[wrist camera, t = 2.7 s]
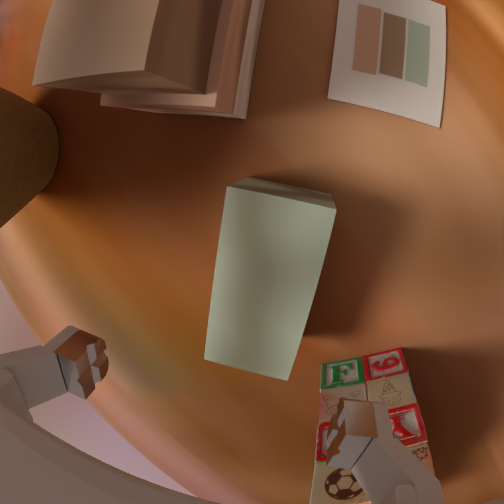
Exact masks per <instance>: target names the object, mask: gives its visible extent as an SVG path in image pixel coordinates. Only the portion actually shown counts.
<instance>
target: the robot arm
mask: <svg viewBox="0 0 504 504" xmlns="http://www.w3.org/2000/svg"><path fill="white" fill-rule="evenodd" d="M105 349H106V344H105V341H104V340H103V339H102V338H99V337H97V336H95V335H92V334H90V333H88V332H85V331H83V330H80V329H78V328H76V327H73V326H67V327H66V328H65V329H64V330H62V331H61V332H60V333H59V334H58V335H56V336H55V337H54V338H53V339H52V340H50V341H49V342H48V343H47V344H46V345H44V346H41V345H39V346H35V347H31V348H27V349H22V350H18V351H13V352H9V353H5V354H0V504H219V503H215V502H211V501H208V500H204V499H200V498H197V497H193V496H190V495H187V494H183V493H180V492H177V491H174V490H171V489H168V488H165V487H162V486H160V485H157V484H154V483H151V482H149V481H146V480H144V479H141V478H138V477H136V476H133V475H131V474H129V473H126V472H124V471H122V470H119V469H117V468H115V467H113V466H111V465H109V464H106V463H104V462H102V461H100V460H98V459H96V458H94V457H92V456H90V455H88V454H86V453H84V452H82V451H81V450H79V449H77V448H75V447H73V446H72V445H70V444H68V443H66V442H64V441H63V440H61V439H59V438H58V437H56V436H54V435H53V434H51V433H50V432H48V431H46V430H45V429H43V428H42V427H40V426H39V425H37V424H36V423H34V422H33V418H32V416H31V414H30V412H29V410H28V409H30V408H32V407H35V406H37V405H39V404H41V403H44V402H46V401H49V400H51V399H53V398H55V397H58V396H60V395H62V394H65V393H67V391H68V392H70V393H73V394H75V395H77V396H79V397H81V398H83V399H85V400H86V399H87V398H88V396H89V395H90V394H91V393H92V392H93V390H94V389H95V383H97V382H100V381H102V380H103V378H104V377H105V376H106V373H107V371H108V364H109V362H108V357H107V356H106V354H105V353H104V350H105ZM327 442H328V443H329V444H330V446H329V448H328V449H327V457H326V467H333V468H343V469H351V472H352V473H353V475H354V476H355V478H356V479H357V481H358V483H359V484H360V486H361V487H362V489H363V490H364V492H365V493H366V495H367V497H368V498H369V500H370V501H371V503H372V504H444V500H443V495H442V490H441V485H440V481H439V480H438V479H437V478H436V477H435V476H434V475H433V474H432V473H431V472H430V471H429V470H428V469H427V468H426V467H425V466H424V465H423V464H422V463H421V462H420V461H419V460H418V459H417V458H416V457H415V456H414V455H413V454H412V453H411V452H410V451H409V450H408V449H407V448H406V447H405V446H404V445H403V444H402V443H401V442H400V441H399V440H398V439H394V438H393V433H392V428H391V423H390V418H389V413H388V408H387V404H386V403H385V402H378V401H365V400H354V399H345V398H341V399H340V401H339V403H338V405H337V413H335V414H333V415H332V417H331V420H330V422H329V426H328V430H327ZM481 504H504V497H502V498H499V499H496V500H492V501H489V502H485V503H481Z"/></svg>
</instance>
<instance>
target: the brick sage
mask: <svg viewBox="0 0 504 504" xmlns="http://www.w3.org/2000/svg"><path fill="white" fill-rule="evenodd" d="M336 211H337V209H336V206H335V203H334V201H333V198H332V195H331V194H328V193H324V192H319V191H315V190H310V189H306V188H301V187H297V186H292V185H288V184H283V183H278V182H273V181H268V180H263V179H258V178H253V177H247V178H245V179H242V180H240V181H238V182H235V183H233V184H231V185H229V186H227V190H226V196H225V203H224V209H223V216H222V223H221V230H220V237H219V244H218V251H217V258H216V265H215V273H214V281H213V288H212V296H211V304H210V312H209V320H208V329H207V337H206V346H205V355H204V359H206V360H209V361H213V362H216V363H220V364H223V365H227V366H230V367H234V368H238V369H242V370H245V371H249V372H253V373H257V374H261V375H265V376H270V377H274V378H278V379H283V380H287V381H288V378H289V375H290V372H291V369H292V366H293V363H294V360H295V357H296V354H297V351H298V347H299V344H300V341H301V338H302V335H303V332H304V328H305V325H306V322H307V319H308V315H309V312H310V309H311V305H312V302H313V298H314V295H315V291H316V288H317V284H318V281H319V277H320V274H321V270H322V266H323V262H324V259H325V255H326V251H327V247H328V243H329V240H330V236H331V232H332V228H333V224H334V219H335V215H336Z"/></svg>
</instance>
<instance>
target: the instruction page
mask: <svg viewBox="0 0 504 504" xmlns="http://www.w3.org/2000/svg"><path fill="white" fill-rule="evenodd" d="M445 61H446V8H445V6H444V5H441V4H438V3H436V2H433V1H431V0H339V8H338V18H337V27H336V36H335V44H334V52H333V60H332V68H331V76H330V83H329V90H328V97H327V99H331V100H336V101H341V102H346V103H350V104H355V105H359V106H363V107H368V108H372V109H376V110H380V111H383V112H387V113H391V114H394V115H398V116H401V117H405V118H408V119H411V120H415V121H418V122H421V123H424V124H427V125H430V126H433V127H436V128H440V120H441V112H442V102H443V92H444V79H445Z"/></svg>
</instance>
